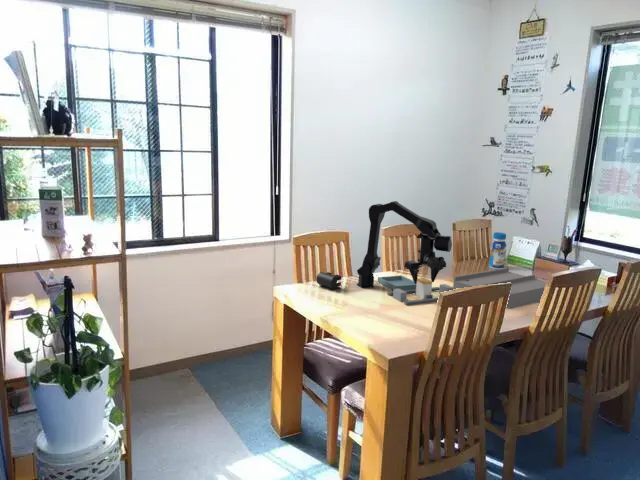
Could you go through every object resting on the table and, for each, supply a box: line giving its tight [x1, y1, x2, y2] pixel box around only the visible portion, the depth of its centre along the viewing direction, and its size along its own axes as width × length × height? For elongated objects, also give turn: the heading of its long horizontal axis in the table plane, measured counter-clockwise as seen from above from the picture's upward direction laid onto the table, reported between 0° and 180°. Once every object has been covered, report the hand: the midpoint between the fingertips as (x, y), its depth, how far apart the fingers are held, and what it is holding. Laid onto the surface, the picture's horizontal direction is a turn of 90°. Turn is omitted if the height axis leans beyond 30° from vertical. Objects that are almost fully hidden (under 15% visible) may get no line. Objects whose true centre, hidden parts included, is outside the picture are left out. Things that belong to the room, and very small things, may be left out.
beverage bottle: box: [488, 232, 507, 270], centre depth 284 cm, size 8×8×20 cm
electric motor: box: [316, 271, 342, 291], centre depth 234 cm, size 10×7×7 cm
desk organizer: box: [452, 267, 548, 310], centre depth 236 cm, size 32×40×7 cm
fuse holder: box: [386, 283, 454, 306], centre depth 225 cm, size 28×16×4 cm, turn 114°
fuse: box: [415, 277, 433, 299], centre depth 225 cm, size 4×6×8 cm, turn 24°
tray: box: [377, 274, 416, 291], centre depth 242 cm, size 14×17×2 cm
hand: (424, 282), depth 224 cm, fingers open, 9 cm apart
